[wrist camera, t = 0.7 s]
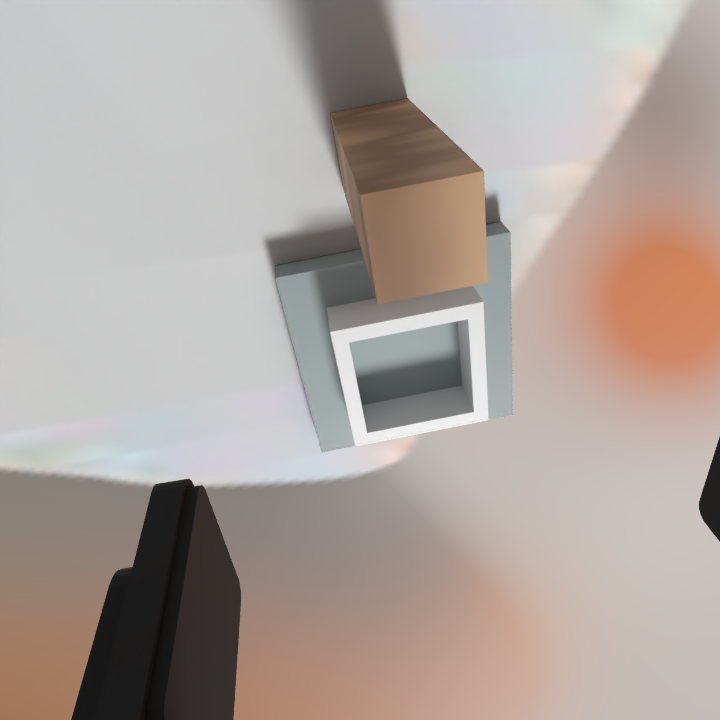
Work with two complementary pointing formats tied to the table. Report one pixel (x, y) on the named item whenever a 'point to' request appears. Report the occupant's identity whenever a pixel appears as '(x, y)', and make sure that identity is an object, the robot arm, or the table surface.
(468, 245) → the rail post
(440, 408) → the bracket
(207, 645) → the robot arm
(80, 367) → the table surface
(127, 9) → the table surface
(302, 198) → the table surface
